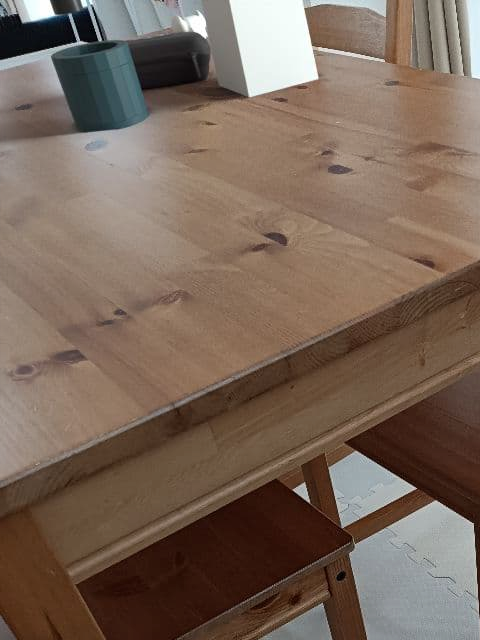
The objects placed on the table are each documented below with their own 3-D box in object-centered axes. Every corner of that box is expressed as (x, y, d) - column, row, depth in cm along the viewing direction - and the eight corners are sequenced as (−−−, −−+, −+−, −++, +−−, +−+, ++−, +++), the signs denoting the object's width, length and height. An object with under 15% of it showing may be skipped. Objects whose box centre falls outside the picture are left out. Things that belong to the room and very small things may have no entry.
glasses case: (217, 61, 130) (204, 13, 124) (219, 101, 126) (206, 53, 119) (111, 76, 130) (91, 28, 123) (108, 116, 126) (88, 69, 119)
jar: (65, 135, 109) (38, 61, 103) (92, 114, 116) (68, 44, 110) (134, 128, 108) (111, 53, 101) (157, 108, 115) (137, 36, 109)
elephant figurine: (193, 55, 142) (184, 17, 138) (166, 54, 146) (156, 16, 142) (221, 46, 145) (213, 8, 141) (194, 45, 149) (185, 8, 145)
